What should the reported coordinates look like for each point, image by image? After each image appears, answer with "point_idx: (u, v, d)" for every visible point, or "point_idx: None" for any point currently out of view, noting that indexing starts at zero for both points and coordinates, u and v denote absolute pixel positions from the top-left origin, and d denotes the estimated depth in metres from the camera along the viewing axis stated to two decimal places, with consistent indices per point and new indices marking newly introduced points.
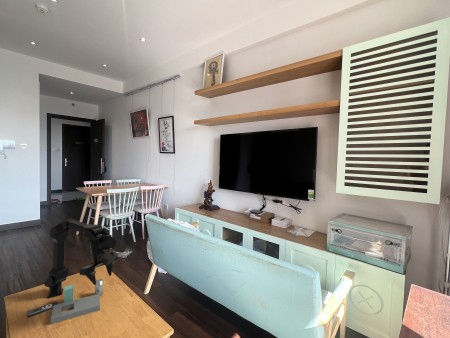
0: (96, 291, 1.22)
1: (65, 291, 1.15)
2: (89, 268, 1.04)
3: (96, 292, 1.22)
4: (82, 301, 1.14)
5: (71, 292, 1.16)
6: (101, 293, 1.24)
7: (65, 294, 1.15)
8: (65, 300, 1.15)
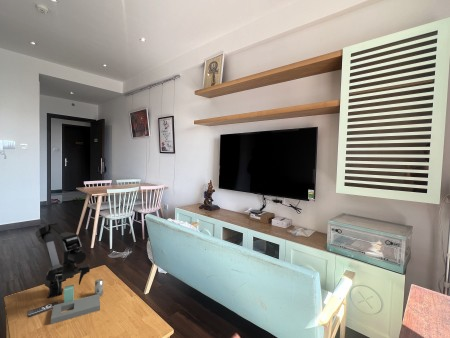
0: (96, 291, 1.22)
1: (65, 291, 1.15)
2: (49, 275, 1.10)
3: (96, 292, 1.22)
4: (82, 301, 1.14)
5: (71, 292, 1.16)
6: (101, 293, 1.24)
7: (65, 294, 1.15)
8: (65, 300, 1.15)
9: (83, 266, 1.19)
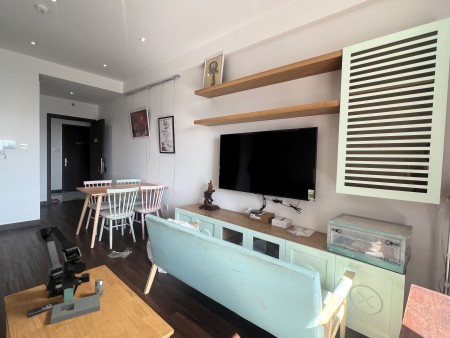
0: (96, 291, 1.22)
1: (65, 291, 1.15)
2: (49, 285, 1.10)
3: (96, 292, 1.22)
4: (82, 301, 1.14)
5: (71, 292, 1.16)
6: (101, 293, 1.24)
7: (65, 294, 1.15)
8: (65, 300, 1.15)
9: (83, 276, 1.20)
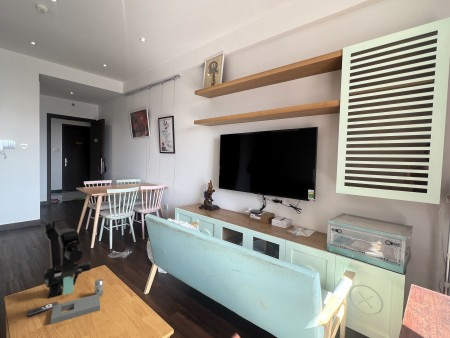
0: (96, 291, 1.22)
1: (64, 280, 1.08)
2: (47, 274, 1.04)
3: (96, 292, 1.22)
4: (82, 301, 1.14)
5: (71, 281, 1.09)
6: (101, 293, 1.24)
7: (64, 283, 1.08)
8: (65, 289, 1.08)
9: (83, 264, 1.13)
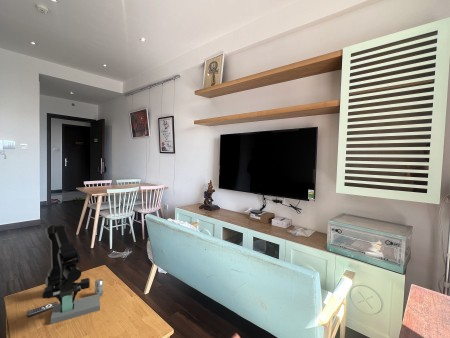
0: (96, 291, 1.22)
1: (63, 298, 1.07)
2: (46, 292, 1.02)
3: (96, 292, 1.22)
4: (82, 301, 1.14)
5: (70, 299, 1.08)
6: (101, 293, 1.24)
7: (63, 301, 1.07)
8: (63, 308, 1.07)
9: (83, 281, 1.12)
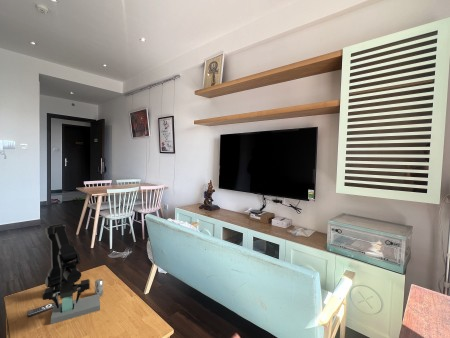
0: (96, 291, 1.22)
1: (63, 301, 1.07)
2: (46, 294, 1.02)
3: (96, 292, 1.22)
4: (82, 301, 1.14)
5: (69, 303, 1.08)
6: (101, 293, 1.24)
7: (63, 305, 1.07)
8: (63, 311, 1.07)
9: (83, 283, 1.12)
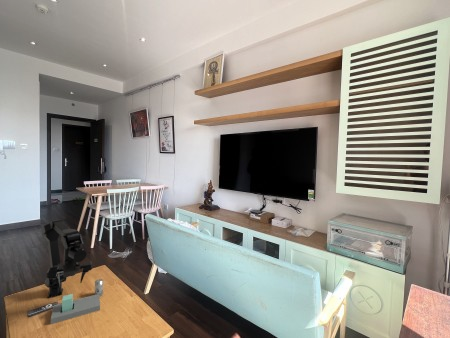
0: (96, 291, 1.22)
1: (63, 301, 1.07)
2: (50, 272, 1.06)
3: (96, 292, 1.22)
4: (82, 301, 1.14)
5: (70, 303, 1.08)
6: (101, 293, 1.24)
7: (63, 305, 1.07)
8: (63, 311, 1.07)
9: (85, 264, 1.15)
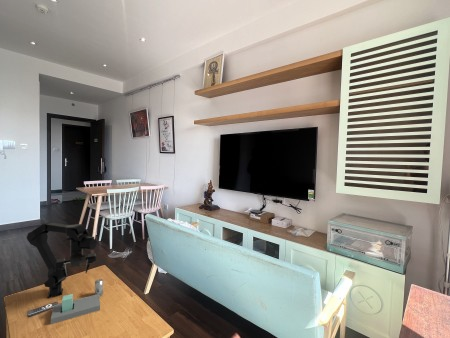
0: (96, 291, 1.22)
1: (63, 301, 1.07)
2: (58, 263, 1.15)
3: (96, 292, 1.22)
4: (82, 301, 1.14)
5: (69, 302, 1.08)
6: (101, 293, 1.24)
7: (63, 305, 1.07)
8: (63, 311, 1.07)
9: (90, 255, 1.24)
